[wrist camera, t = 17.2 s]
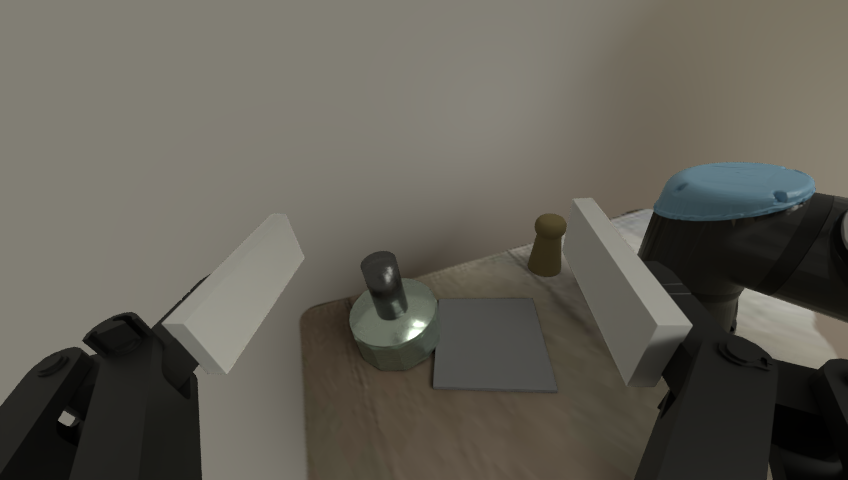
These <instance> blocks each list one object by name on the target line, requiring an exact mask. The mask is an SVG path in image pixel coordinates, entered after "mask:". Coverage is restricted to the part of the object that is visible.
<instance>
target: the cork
mask: <svg viewBox="0 0 848 480" xmlns="http://www.w3.org/2000/svg"><path fill="white" fill-rule="evenodd" d="M566 227H567V226H566V222H565V220H564V218H563V217H561V216H559V215H556V214H544V215H541V216H540V217H539V218H538V219H537V220H536V222H535V231H536V233H537V235H536V238H535V242H534V245H533V248H532V252H531V255H530V258H529V262H528V268H529V269H530V271H531V272H533V273H534V274H537V275H539V276H544V277H551V276H555V275H557V274H558V273H559V272H560V270H561V237H562V236H563V235H564V233H565V232H566Z"/></svg>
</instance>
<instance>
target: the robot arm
mask: <svg viewBox="0 0 848 480" xmlns="http://www.w3.org/2000/svg"><path fill="white" fill-rule="evenodd" d="M815 190H816V188H815V182H814V180H813V178H811V176H809V175H807V174H806V173H803V172H801V171H798V170H790V169H786V168H785V167H783V166H777V165H770V164H762V163H748V162H726V163H712V164H705V165H699V166H694V167H690V168H687V169H684V170H682V171H680V172H678V173H676V174H675V175H673V176H672V177H671V178H670V179H669V180H668V181H667V182H666V184H665V186H664V188H663V190H662V193H661V195H660V197H659V199H658V200H657V201H656V203H655V204H654V212H653V214H652V217H651V220H650V222H649V225H648V228H647V230H646V233H645V236H644V239H643V241H642V244H641V246H640V249H639V252H638V254H636V253H635V252H634V250H633V249H632V248H631V247H630V245H629V244H628V243H627V242H626V240H625V239H624V238H623V236H622V235H621V234H620V233H619V231H618V230H617V229H616V228H615V226H614V225H613V224H612V223H611V221H610V220H609V219H608V218H607V216H606V215H605V214H604V212H603V211H602V210H601V209H600V207H599V206H598V205H597V204H596V202H595V201H594V200H593V199H592V198H578V199H573V200H572V205H571V210H570V215H569V220H568V225H567V230H566V235H565V240H564V245H563V250H562V251H563V253H564V255H565V257H566V259H567V261H568V263H569V265H570V268H571V270H572V272H573V274H574V276H575V278H576V280H577V282H578V285H579V287H580V289H581V291H582V293H583V295H584V297H585V299H586V302H587V304H588V306H589V308H590V310H591V312H592V314H593V316H594V319H595V321H596V323H597V325H598V327H599V329H600V331H601V333H602V335H603V338H604V340H605V342H606V344H607V346H608V348H609V350H610V352H611V355H612V357H613V359H614V361H615V363H616V365H617V367H618V369H619V372H620V374H621V376H622V378H623V380H624V382H625V384H626V386H634V387H655V386H656V384H657V383H658V381H659V380H660V378H661V376H663V378H664V380H665V381H666V383H667V385H668V386H669V388H670V389H669V391H668V392H667V394H666V395H665V397H664V398H663V400H662V401H661V403H660V404H659V406H658V407H657V408H658V409H660V412H659V415H658V417H657V420H656V423H655V425H654V428H653V431H652V433H651V436H650V439H649V441H648V444H647V447H646V449H645V452H644V454H643V457H642V460H641V462H640V465H639V468H638V470H637V473H636V476H635V478H634V480H767V472H768V463H769V465H770V469H771V473H772V477H773V480H848V360H847V359H830V360H828V361H827V362H826V363H825V364H824V365H823V366H821V367H820V368H819V369H813V368H809V367H805V366H801V365H797V364H792V363H788V362H784V361H780V360H776V359H772V357H771V356H770V355H769V354H768V353H767V352H766V351H764V350H763V349H762V348H760V347H759V346H758V345H756V344H754V343H752V342H750V341H749V340H747V339H745V338H743V337H739V336H736V335H734V334H735V332H736V325H737V323H736V317H737V311H738V298H739V296H740V294H741V293H742V291H743V290H744V288H748V289H750V290H754V291H756V292H759V293H762V294H765V295H768V296H771V297H774V298H777V299H780V300H783V301H786V302H789V303H791V304H794V305H797V306H800V307H803V308H806V309H809V310H811V311H814V312H817V313H820V314H823V315H826V316H829V317H832V318H834V319H838V320H840V321H843V322H846V323H848V198H844V197H839V196H832V195H826V194H820V193H815ZM303 259H304V255H303V253H302V251H301V248H300V246H299V243H298V241H297V239H296V237H295V234H294V232H293V229H292V227H291V225H290V223H289V220H288V218H287V215H286V214H285V213H282V214H271V215H270V216H269V217H268V218H267V219H266V220H265V221H264V222H263V223H262V224H261V225H260V226H259V227H258V228H257V229H256V230H255V231H254V232H253V233H252V234H251V235H250V236H249V237H248V238H247V239H246V240H245V241H244V242H243V243H242V244H241V245H240V246H239V247H238V248H237V249H236V250H235V251H234V252H233V253H232V254H231V255H230V256H229V257H228V258H227V259H226V260H225V261H224V262H223V263H222V264H221V265H220V266H219V267H218V268H217V269H216V270H215V271H214V272H213V273H211V274H209V275H208V276H207V277H205V278H203V279H202V280H200V281H199V282H198V283H197V284H196V285H195V286H194V287H193V288H192V289H191V290H190V292H188V293H187V294H186V295H185V296H184V297H183V298H182V300H180V301H179V302H178V303H177V304H176V305H175V306H174V307H173V308H172V309H171V310H170V311H169V312H168V313H167V314H166V315H165V316H164V317H163V318H162V319H161V320H160V321H159V322H158V323H157V324H156V325H154V326H153V327H152V329H150V328H149V326H147V325H146V323H145V322H144V321H143V320H142V319H141V318H140V317H139V316H138V315H137V314H135V313H133V312H129V313H128V312H127V313H122V314H119V315H116V316H113V317H111V318H109V319H107V320H105V321H103V322H101V323H100V324H99V325H97V326H95V327H94V328H93V329H92V330H91V331H90V332H88V333H87V334H86V336H85V337H84V339H83V340H82V341H83V342H84V343H85V344H86V345H88V346H89V347H90V348H91V349H93V350H94V351H95V352H96V353H97V354H95V355H91V356H89V355H88V354H87V353H86V352H84V351H83V350H82V349H81V348H78V347H72V348H67V349H64V350H61V351H59V352H56V353H53V354H51V355H50V356H48V357H46V358H44V359H43V360H42V361H41V362H40V363H38V364H37V365H35V366H34V367H33V368H32V369H31V370H30V371H29V372H28V373H27V374H26V375H25V377H24V378H23V379H22V380H21V381H20V383H19V384H18V385H17V386H16V388H15V389H14V390H13V391H12V393H11V394H10V395H9V396H8V398H7V399H6V400H5V401H4V403H3V404H2V405H1V406H0V480H202V470H201V448H200V426H199V404H198V382H197V377H196V375H195V374H194V373H193V371H194V370H195V369H196V367H197V366H198V365H200V366H201V367H202V368H203V369H204V370H205V371H206V372H207V374H224V375H227V374H228V372H229V371H230V369H231V368H232V366H233V365H234V363H235V362H236V360H237V359H238V357H239V356H240V354H241V353H242V351H243V350H244V348H245V347H246V345H247V344H248V342H249V341H250V339H251V338H252V336H253V335H254V333H255V332H256V330H257V329H258V327H259V326H260V324H261V323H262V321H263V320H264V318H265V316H266V315H267V314H268V312H269V311H270V309H271V308H272V306H273V305H274V303H275V302H276V300H277V299H278V297H279V296H280V294H281V293H282V291H283V290H284V288H285V287H286V285H287V284H288V282H289V281H290V279H291V278H292V276H293V275H294V273H295V272H296V270H297V269H298V267H299V266H300V264H301V263H302V261H303ZM63 411H66V412H67V413H69V414H71V415H72V416H74V417H75V420H74V422H73V423H72V424H71V425H70V426H66V425H64V424H62V423H61V422H59V421H58V419H59V417H60V416H61V414H62V412H63Z"/></svg>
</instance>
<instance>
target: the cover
mask: <svg viewBox="0 0 848 480" xmlns="http://www.w3.org/2000/svg"><path fill="white" fill-rule="evenodd" d="M361 270H362V272H363V275H364V278H365V281H366V284H367V287H368V290H366V291H365V292H364V293H363V294H362V295H361V296H360V297H359V298H358V299H357V300H356V302H355V303H354V305H353V307H352V309H351V312H350V318H349V321H350V327H351V329H352V332H353V335H354V338H355V340H356V343H357V345H358V347H359V349H360V351H361V354H362V356H363V358H364V360H365V361H367V362H369V363H370V364H372V365H373V366H375V367H376V368H378V369H380V370H407V369H409V368H411V367H413V366H414V365H416V364H418V363H420V362H422V361H424V360H426V359H427V358H428V357H429V356H430V354H431V353H432V351H433V350H434V349H435V347H436V346H437V344H438V343H439V342H440V331H441V320H440V315H439V309H438V304H437V301H436V299H435V297H434V294H433V293H432V291H431V290H430V289H429V287H427V286H426V285H425V284H423V283H421V282H419V281H417V280H413V279H407V278H401V277H400V273H399V269H398V265H397V261H396V257H395V255H394V254H393V253H391V252H387V251H380V252H375V253H373V254H370V255H369V256H367V257H366V258H365V259H364V260H363V261H362V263H361Z"/></svg>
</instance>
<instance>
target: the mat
mask: <svg viewBox="0 0 848 480" xmlns="http://www.w3.org/2000/svg"><path fill="white" fill-rule="evenodd" d="M438 309H439V315H440V320H441V331H440V342H439V343H438V344H437V346H436V351H435V365H434V380H433V389H451V390H481V391H511V392H541V393H557V392H558V389H557V385H556V382H555V378H554V374H553V371H552V367H551V364H550V360H549V356H548V353H547V349H546V345H545V342H544V338H543V335H542V331H541V327H540V324H539V320H538V317H537V313H536V309H535V306H534V302H533V299H532V298H495V299H439V307H438Z"/></svg>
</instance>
